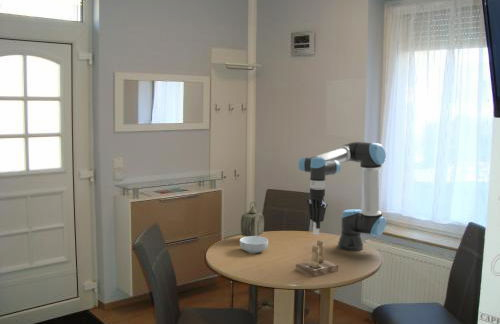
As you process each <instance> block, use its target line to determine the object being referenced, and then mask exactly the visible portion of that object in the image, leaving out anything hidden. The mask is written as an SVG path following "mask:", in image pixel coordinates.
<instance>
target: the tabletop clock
mask: <svg viewBox="0 0 500 324" xmlns="http://www.w3.org/2000/svg"><path fill="white" fill-rule="evenodd" d="M252 204H254V206H253V205H252ZM256 207H257V204H256V202H255V201H251V202H250V203H249V210H248V211H247V212H244V213H242V215H241V218H240V234H241V235H240V236H243V237H247V236H261V235H262V234H263V233H264V229H265V216H264V214H262V212H257V210H256V209H255V208H256Z"/></svg>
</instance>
